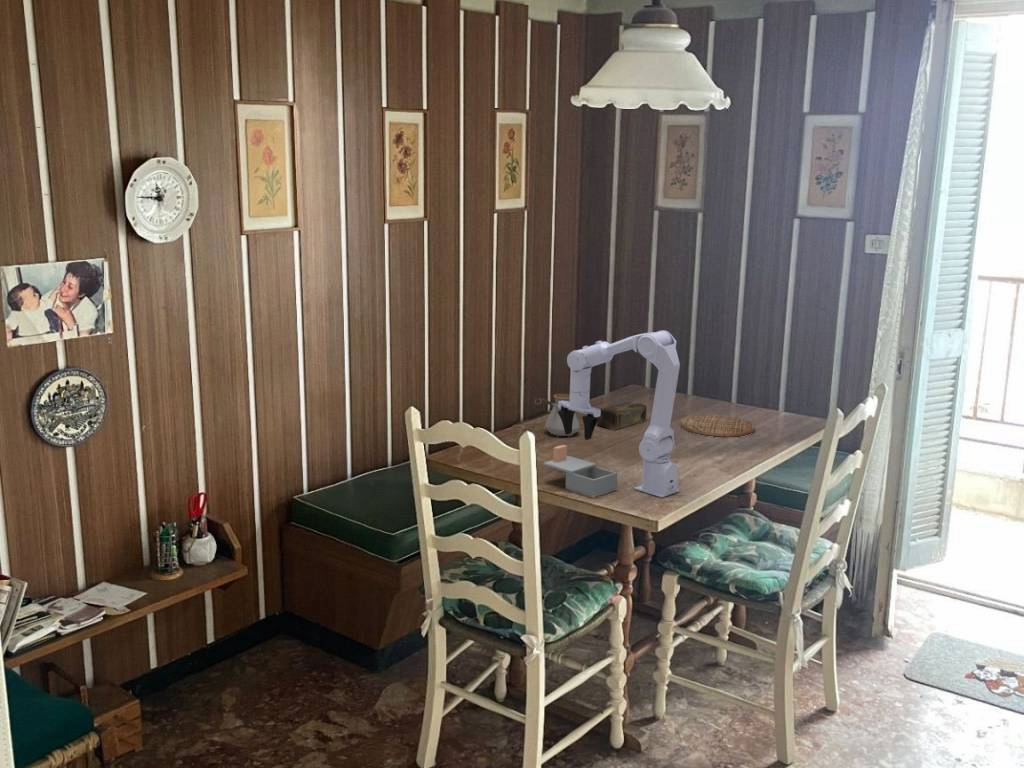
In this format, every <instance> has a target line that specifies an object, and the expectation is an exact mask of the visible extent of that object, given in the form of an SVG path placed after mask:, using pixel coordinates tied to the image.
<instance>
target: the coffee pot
mask: <svg viewBox="0 0 1024 768" xmlns="http://www.w3.org/2000/svg"><path fill="white" fill-rule="evenodd" d="M553 398H554V399H555V400H554V401H555V403H553V402H552V401H549V400H548V399H544V398H543V397H542V398H541V397H538V398H537V399H535V400H534V403H535V404H536V405H540V404H541V403H544V404H546V405H548V406H552V409H551V411H550V413H549V416H548V417H547V419H546V422H545V423H544V424H545V425H544V426H545V429H546V430H547V431H548V432H549V433H550V435H552V434H553V435H552V436H554V435H556V436H555V437H559V436H568V437H572V436H574V435H573V434H575V433H577V432H578V431H579V429H580V426H581V425H580V422H579V419H578V417H577V414H576V412H575V413H574V417H573V423H572V432H571V433H570V434H565V431H564V426H563V423H562V420H561V418H560V416H559V414H558V411H559V410H561V408H558V402H559V401H568V402H569V401H570V393H569V394H568V393H555V394H553ZM536 400H538V401H540V402H539V403H536Z"/></svg>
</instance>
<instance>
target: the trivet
mask: <svg viewBox="0 0 1024 768" xmlns="http://www.w3.org/2000/svg"><path fill="white" fill-rule="evenodd" d="M679 426H680V428H681V427H682V428H683V429H684V430H683V429H682V428H681V429H682V430H683V431H685V430H686V431H685V432H687V431H688V432H687V433H689V432H691V433H690V434H693V433H695V434H694V435H696V434H700V435H699V436H701V435H706V436H705V437H707V436H713V437H712V438H715V437H738V438H741V437H740V436H745V435H749V434H751V433H753V432H754V433H755V430H756V429H755V428H756V427H755V424H753V423H752V422H750V421H749V420H746V419H744V418H740V417H735V416H731V415H722V414H694V415H693V414H692V415H688V416H685V417H683V418H682V419H680V425H679ZM754 433H753V434H754ZM751 435H752V434H751ZM749 436H750V435H749ZM745 437H746V436H745Z"/></svg>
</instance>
